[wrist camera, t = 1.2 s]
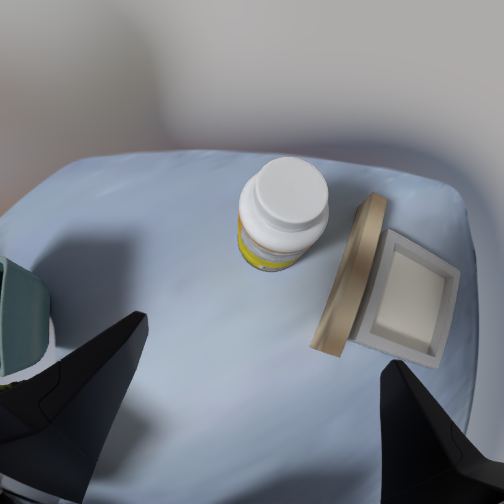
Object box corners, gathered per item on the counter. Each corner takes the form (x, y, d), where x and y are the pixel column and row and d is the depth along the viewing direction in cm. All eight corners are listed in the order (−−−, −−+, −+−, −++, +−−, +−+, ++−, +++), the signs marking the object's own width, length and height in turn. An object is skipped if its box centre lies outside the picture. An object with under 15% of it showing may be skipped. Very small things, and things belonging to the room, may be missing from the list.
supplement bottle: (269, 200, 25) (290, 129, 15) (313, 244, 24) (362, 194, 14) (223, 240, 23) (217, 182, 13) (268, 287, 23) (295, 261, 13)
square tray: (426, 367, 21) (437, 369, 20) (346, 339, 22) (355, 340, 20) (449, 274, 24) (460, 271, 22) (378, 235, 25) (388, 228, 23)
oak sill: (324, 352, 22) (339, 357, 18) (309, 347, 22) (322, 351, 18) (370, 214, 25) (387, 199, 22) (357, 207, 25) (373, 192, 22)
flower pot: (68, 278, 21) (7, 256, 13) (65, 367, 19) (3, 379, 11) (14, 271, 21) (-41, 252, 12) (10, 349, 19) (-46, 349, 10)
